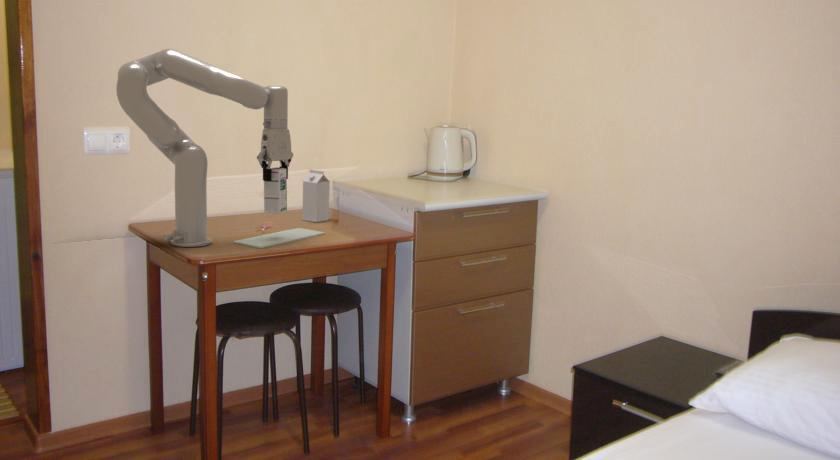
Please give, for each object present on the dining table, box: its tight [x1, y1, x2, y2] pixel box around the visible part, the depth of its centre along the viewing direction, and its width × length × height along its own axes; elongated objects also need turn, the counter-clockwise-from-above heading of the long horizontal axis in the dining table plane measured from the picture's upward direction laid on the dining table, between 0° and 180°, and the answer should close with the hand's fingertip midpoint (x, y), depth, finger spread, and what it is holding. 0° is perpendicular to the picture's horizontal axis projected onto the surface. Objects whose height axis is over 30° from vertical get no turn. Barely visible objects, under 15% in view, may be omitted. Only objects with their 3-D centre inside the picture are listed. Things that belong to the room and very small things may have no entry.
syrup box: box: [263, 166, 288, 215], centre depth 253 cm, size 6×6×14 cm
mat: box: [232, 227, 326, 249], centre depth 258 cm, size 32×12×1 cm, turn 148°
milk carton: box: [302, 169, 331, 223], centre depth 292 cm, size 7×7×19 cm
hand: (275, 179), depth 252 cm, fingers closed on syrup box, 7 cm apart
